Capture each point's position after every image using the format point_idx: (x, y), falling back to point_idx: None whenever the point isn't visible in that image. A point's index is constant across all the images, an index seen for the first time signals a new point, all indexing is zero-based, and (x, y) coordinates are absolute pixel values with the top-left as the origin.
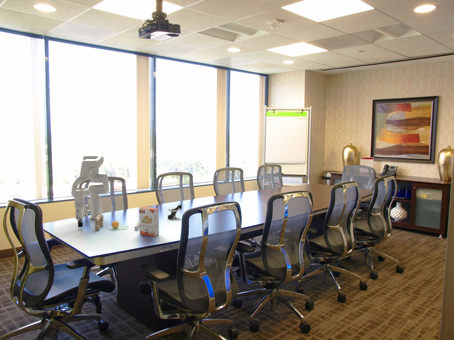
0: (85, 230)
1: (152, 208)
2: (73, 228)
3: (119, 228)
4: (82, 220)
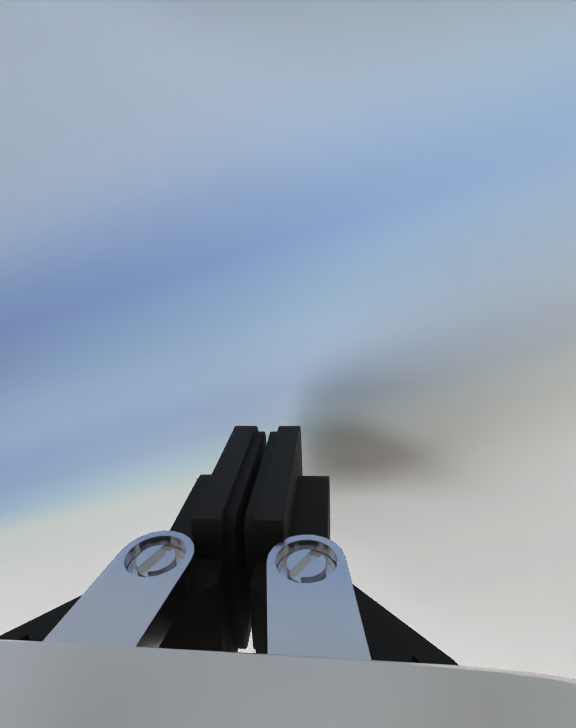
0: (509, 244)
1: None
2: None
3: None
4: (107, 572)
